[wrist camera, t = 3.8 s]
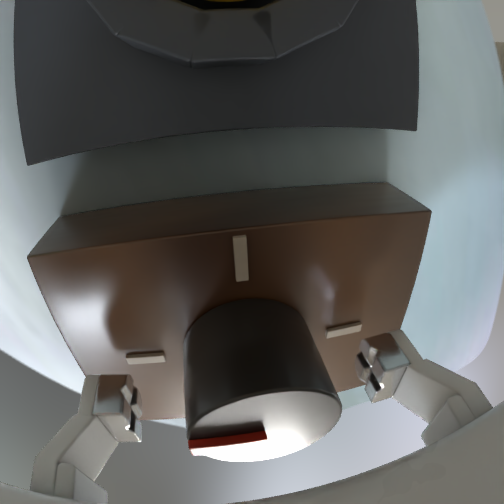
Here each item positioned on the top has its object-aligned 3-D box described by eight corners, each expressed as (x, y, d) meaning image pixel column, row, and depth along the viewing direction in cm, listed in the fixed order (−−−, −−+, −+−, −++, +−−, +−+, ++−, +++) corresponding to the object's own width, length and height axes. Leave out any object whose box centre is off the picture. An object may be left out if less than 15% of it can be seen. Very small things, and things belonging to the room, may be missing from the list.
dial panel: (388, 181, 12) (435, 212, 9) (358, 340, 16) (382, 382, 14) (58, 216, 10) (23, 259, 7) (120, 373, 15) (114, 423, 12)
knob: (312, 288, 10) (362, 381, 7) (303, 373, 12) (332, 453, 9) (171, 306, 9) (169, 414, 6) (194, 390, 11) (202, 476, 8)
